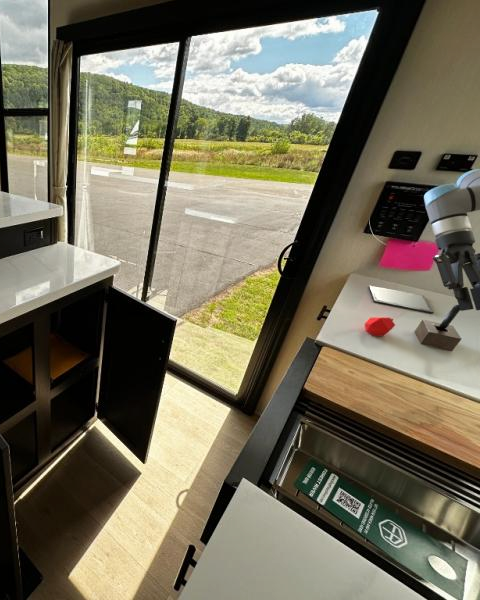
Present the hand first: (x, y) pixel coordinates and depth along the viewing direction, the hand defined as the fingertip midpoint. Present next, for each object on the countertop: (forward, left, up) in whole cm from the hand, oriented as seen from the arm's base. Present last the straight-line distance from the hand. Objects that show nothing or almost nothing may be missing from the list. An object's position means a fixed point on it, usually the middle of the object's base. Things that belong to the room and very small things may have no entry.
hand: (475, 309), depth 91 cm
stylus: (+2, -3, -15) cm, 16 cm away
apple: (+17, 0, -15) cm, 23 cm away
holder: (+2, -3, -15) cm, 16 cm away
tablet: (+6, -29, -15) cm, 34 cm away
